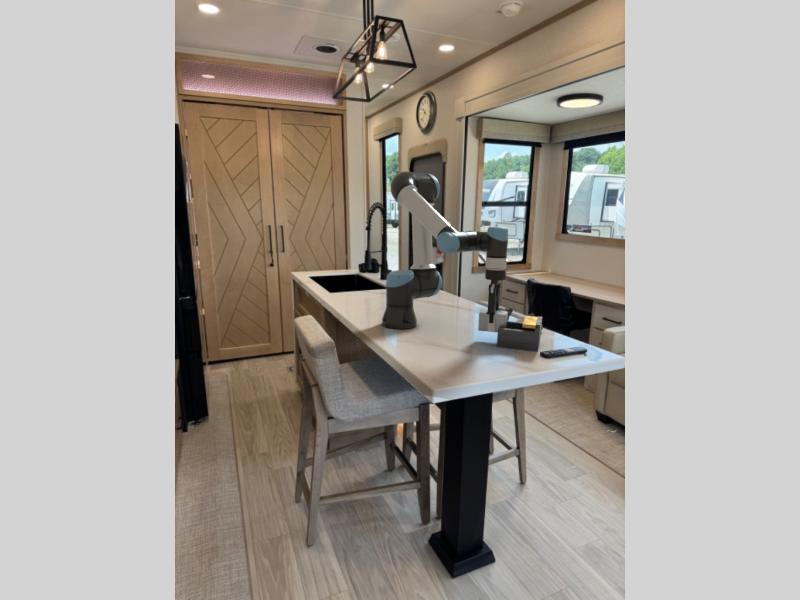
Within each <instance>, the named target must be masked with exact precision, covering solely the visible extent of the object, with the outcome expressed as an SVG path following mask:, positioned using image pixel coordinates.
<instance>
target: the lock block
mask: <svg viewBox="0 0 800 600" xmlns="http://www.w3.org/2000/svg"><path fill="white" fill-rule="evenodd" d="M487 311H488V309H481V310H480V311H479V312H478V327H477V329H478V331H479V332H480V331H481V332H489V333H498V328H507V317H508V311H496V310H495V314H496V320H495V332H493V331H487V327H488V314H486V312H487ZM490 311H491V310H490Z"/></svg>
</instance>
